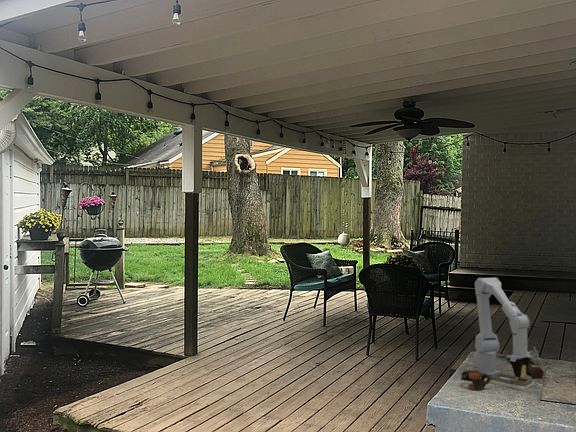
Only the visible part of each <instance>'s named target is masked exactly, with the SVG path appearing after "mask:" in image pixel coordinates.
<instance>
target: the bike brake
mask: <svg viewBox="0 0 576 432" xmlns="http://www.w3.org/2000/svg"><path fill="white" fill-rule="evenodd" d="M532 348H533V349H532ZM532 348H531V347H527V351H528V352H530V357H528V358H531V361H530V363H529V364H533V363H535V362H536V363H538V364H540V362H541V361H542V358H541V357H539V351H538V350H537V349H536V346H532ZM510 356H512V354H510V355H507V354H506V356H504V355H496V358H506V359H507V361H508V363H509V364H511V363H510V362H509V360H510Z"/></svg>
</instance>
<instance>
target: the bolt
mask: <svg viewBox="0 0 576 432" xmlns="http://www.w3.org/2000/svg"><path fill="white" fill-rule="evenodd" d="M526 374H530V375H531V377H532V378H533V379H536V380H537V379H539V380H540V379H542V378H543V377H544V375H545V373H544V370H543V369H542V368H541V367H540V366H532V365H531V363H529V365H528V368H527V373H526Z"/></svg>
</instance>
